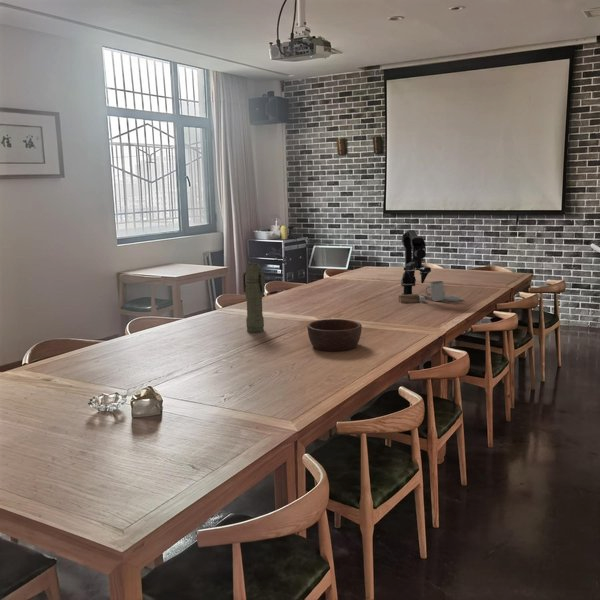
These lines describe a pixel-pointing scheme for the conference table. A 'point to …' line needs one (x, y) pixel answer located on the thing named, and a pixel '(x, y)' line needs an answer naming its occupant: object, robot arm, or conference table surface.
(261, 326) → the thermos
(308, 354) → the conference table surface
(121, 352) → the conference table surface
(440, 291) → the mug
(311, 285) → the conference table surface
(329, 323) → the wooden bowl
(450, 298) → the mat
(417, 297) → the panel
